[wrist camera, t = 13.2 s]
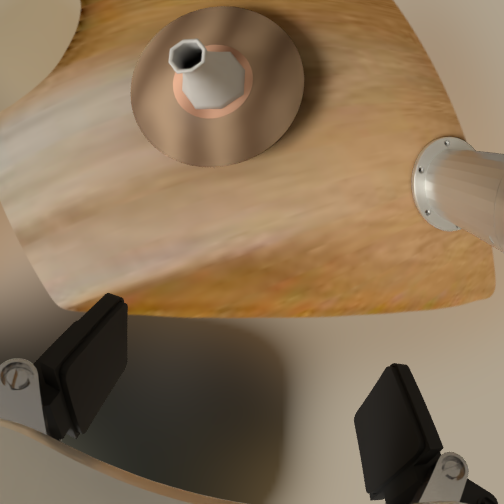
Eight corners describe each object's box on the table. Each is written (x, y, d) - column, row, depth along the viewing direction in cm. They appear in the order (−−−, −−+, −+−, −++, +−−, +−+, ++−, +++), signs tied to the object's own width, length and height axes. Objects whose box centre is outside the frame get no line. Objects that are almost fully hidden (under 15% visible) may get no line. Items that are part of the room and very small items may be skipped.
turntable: (319, 29, 27) (321, 23, 25) (279, 184, 34) (279, 186, 32) (161, 8, 27) (155, 3, 25) (123, 151, 34) (115, 151, 32)
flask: (236, 43, 27) (219, 6, 18) (254, 100, 29) (243, 79, 20) (175, 64, 28) (138, 38, 19) (191, 119, 30) (155, 109, 21)
